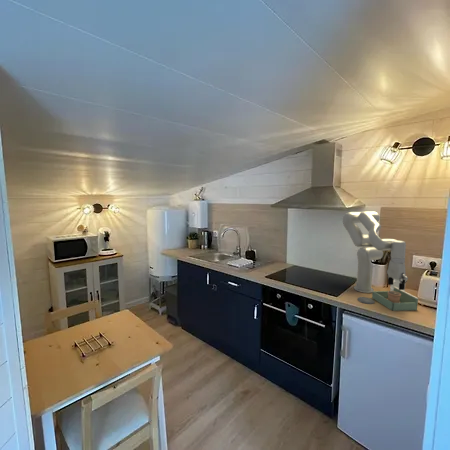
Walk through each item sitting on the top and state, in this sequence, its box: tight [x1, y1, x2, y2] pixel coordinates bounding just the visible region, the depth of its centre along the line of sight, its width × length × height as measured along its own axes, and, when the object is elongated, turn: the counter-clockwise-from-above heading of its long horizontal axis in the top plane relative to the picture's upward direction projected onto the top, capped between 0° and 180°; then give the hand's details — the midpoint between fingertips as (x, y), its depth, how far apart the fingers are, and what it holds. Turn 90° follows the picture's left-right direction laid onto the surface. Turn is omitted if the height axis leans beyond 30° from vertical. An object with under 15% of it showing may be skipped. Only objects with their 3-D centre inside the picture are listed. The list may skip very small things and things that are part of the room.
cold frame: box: [371, 287, 419, 312], centre depth 168 cm, size 20×16×8 cm
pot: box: [387, 290, 401, 303], centre depth 168 cm, size 7×7×7 cm
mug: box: [389, 278, 406, 292], centre depth 186 cm, size 9×12×11 cm
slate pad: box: [357, 296, 376, 305], centre depth 172 cm, size 10×10×1 cm
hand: (395, 287), depth 166 cm, fingers open, 9 cm apart
